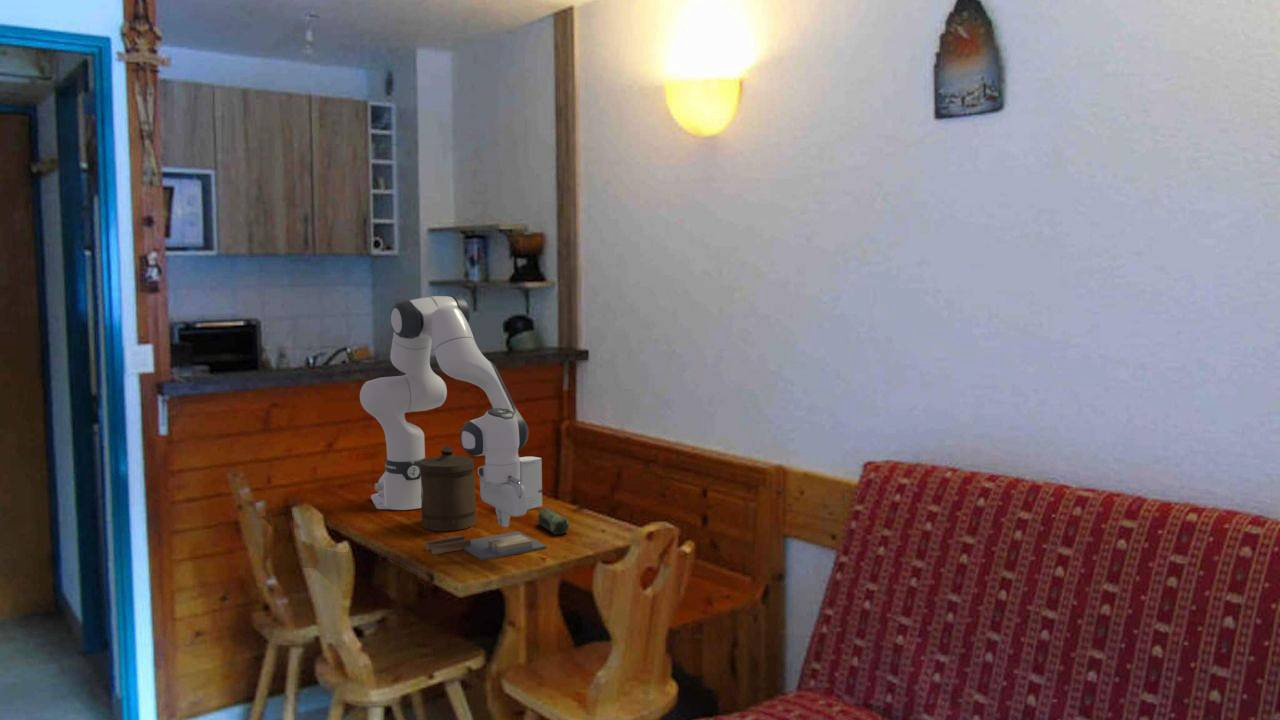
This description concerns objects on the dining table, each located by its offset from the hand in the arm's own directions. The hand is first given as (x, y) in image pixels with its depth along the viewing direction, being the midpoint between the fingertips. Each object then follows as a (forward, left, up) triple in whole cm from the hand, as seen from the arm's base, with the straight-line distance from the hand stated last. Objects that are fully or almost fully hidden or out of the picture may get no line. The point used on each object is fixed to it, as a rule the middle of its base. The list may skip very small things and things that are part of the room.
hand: (503, 525), depth 256 cm
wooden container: (-29, -3, -6) cm, 30 cm away
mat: (-2, 0, -6) cm, 6 cm away
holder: (-8, -12, -6) cm, 16 cm away
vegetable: (-8, +18, -6) cm, 21 cm away
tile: (-1, 0, -4) cm, 4 cm away
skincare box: (-33, +23, -6) cm, 41 cm away
